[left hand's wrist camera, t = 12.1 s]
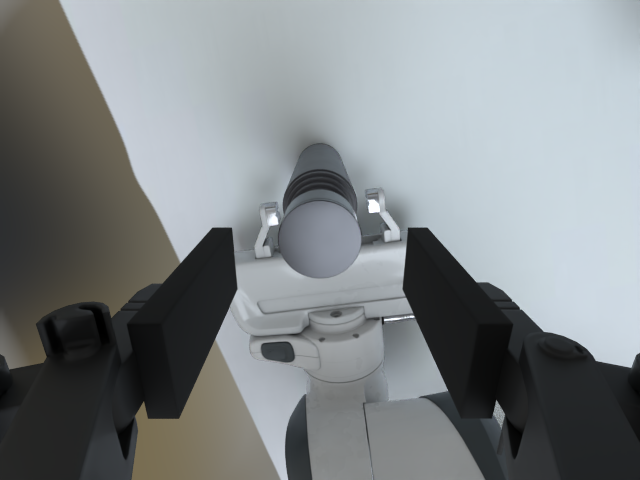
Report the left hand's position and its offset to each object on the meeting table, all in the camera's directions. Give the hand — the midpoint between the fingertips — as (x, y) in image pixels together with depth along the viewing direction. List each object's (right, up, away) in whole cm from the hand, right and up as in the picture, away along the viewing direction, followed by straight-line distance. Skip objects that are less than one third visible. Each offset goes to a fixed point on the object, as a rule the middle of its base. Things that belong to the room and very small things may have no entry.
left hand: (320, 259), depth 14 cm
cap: (0, +1, +2) cm, 2 cm away
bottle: (0, +8, +22) cm, 24 cm away
